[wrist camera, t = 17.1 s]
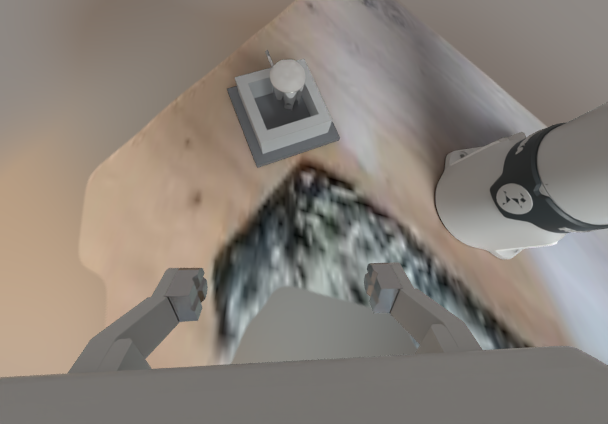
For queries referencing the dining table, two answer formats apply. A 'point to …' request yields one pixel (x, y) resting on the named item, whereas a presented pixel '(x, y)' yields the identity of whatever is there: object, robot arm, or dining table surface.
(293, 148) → the sleeve housing
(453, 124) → the dining table surface
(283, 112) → the milkshake
